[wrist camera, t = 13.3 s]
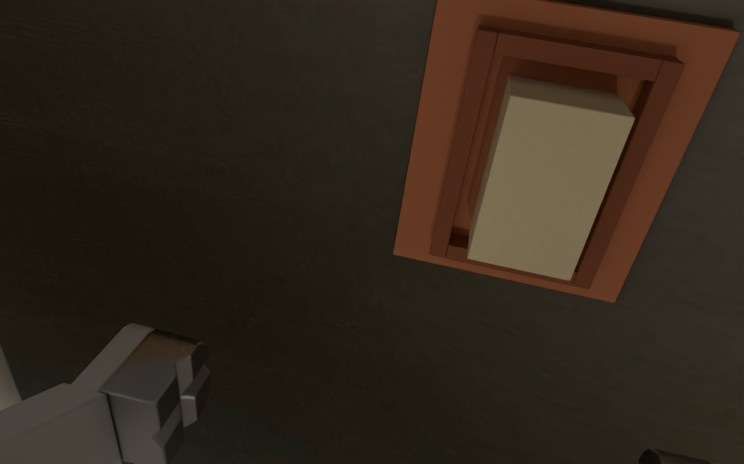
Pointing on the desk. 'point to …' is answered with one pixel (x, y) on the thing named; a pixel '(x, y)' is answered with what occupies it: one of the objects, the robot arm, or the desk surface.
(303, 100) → the desk surface
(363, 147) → the desk surface
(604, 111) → the top pad
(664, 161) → the base pad
